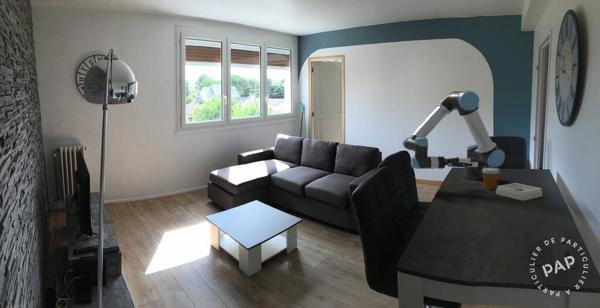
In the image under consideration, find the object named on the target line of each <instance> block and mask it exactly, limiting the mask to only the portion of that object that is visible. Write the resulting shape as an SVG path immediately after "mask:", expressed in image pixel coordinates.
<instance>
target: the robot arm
mask: <svg viewBox="0 0 600 308" xmlns="http://www.w3.org/2000/svg"><path fill="white" fill-rule="evenodd" d="M479 103H480V97H479V95H478V94H477V93H476V92H475V91H471V90H462V91H461V90H460V91H458V90H457V91H455V90H454V91H451V92H450V93H448V94H447V95H445V97H443V98H442V99H441V100H440V101H439V102H438V103H437V105H436V108H435V109H434V110H433V111H432V113H430V114H429V116H428V117H427V118H426V119H425V120H424V121H423V122H422V123H421V124H420V125H419V127H418V128H417V129H416V130H415V131H414V132H413V133H412V134H411V135H410V137H406V138H405V139H403V140H402V146H403V148H404V149H406V150H408V151H413V152H414V156H412V157H411V158H410V166H411V168H412V169H418V170H419V169H420V170H423V169H424V170H426V169H427V170H429V169H430V170H435V169H438V170H439V169H440V170H443V169H445V168H446V166H447V167H448V168H449V167H453V168H464V172H463V175H462V176H463V178H465V179H468V180H478V181H479V180H482V181H484V179H483V172H482V170H483V168H487V167H489V168H499V166H501V165H502V164H503V163H504V162H505V161H504V160H505V158H506V154H505V152H504V151H503V149H499V147H498V146H497V143H496V142H493V141H492V139H491V137H490V134H489V132H488V130H487V129H486V126H485V124H484V122H483V119H482V118H481V114H480V113H479V108H480V107H479ZM453 111H457V112H458V115H459V116H460V117H463V119H464V120H465V123H466V125H467V127H468V129H469V131H470V134H471V136H472V137H473V140H474V141H475V144H469V145H467V149H466V157H465V158H464V157H463V158H462V157H461V158H460V156H456V157H449V158H445V156H433V155H432V156H428V154H429V153H428V150H429V139H428V138H427V136H428V135H429V134H430V133H431V132H432V131H433V130H434V129H435V128H436V126H437V125H439V123H440V122H441V121H442V120H443V119H444V118H445V117H446V116H447V115H450V114H451V112H453ZM486 166H487V167H486Z"/></svg>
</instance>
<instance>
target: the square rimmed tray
mask: <svg viewBox="0 0 600 308" xmlns="http://www.w3.org/2000/svg"><path fill="white" fill-rule="evenodd" d="M543 192H544V191H543V190H542V188H541V187H536V186H533V185H527V184H523V183H518V182H513V183H512V182H511V183H508V184H503V185H497V186H496V189H495V194H496V195H499V196H502V197H503V196H504V197H507V198H511V199H515V200H519V201H522V202H523V201H528V200H532V199H537V198H539V197H540V198H541V197H543Z"/></svg>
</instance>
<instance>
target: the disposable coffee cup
mask: <svg viewBox="0 0 600 308" xmlns="http://www.w3.org/2000/svg"><path fill="white" fill-rule="evenodd" d="M482 172H483V187H484V189H486V190H496V189H497V187H498V181H499V180H498V179H499V175H500V172H501V171H500V169H499V168H498V167H486V168H483V170H482Z"/></svg>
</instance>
